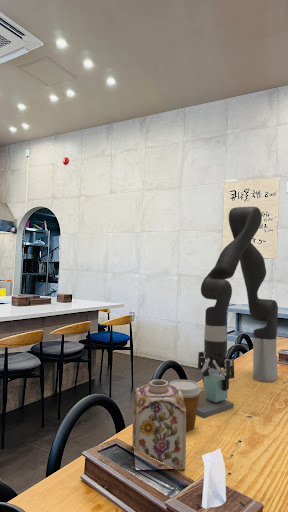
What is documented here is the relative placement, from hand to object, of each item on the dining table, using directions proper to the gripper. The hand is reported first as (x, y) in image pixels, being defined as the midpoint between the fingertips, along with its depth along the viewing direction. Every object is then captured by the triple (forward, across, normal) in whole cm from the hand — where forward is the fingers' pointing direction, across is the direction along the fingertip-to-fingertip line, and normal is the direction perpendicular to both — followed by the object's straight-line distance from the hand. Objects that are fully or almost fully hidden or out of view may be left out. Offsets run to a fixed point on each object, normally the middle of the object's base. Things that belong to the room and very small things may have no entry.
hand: (215, 386), depth 115 cm
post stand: (+6, 0, +4) cm, 7 cm away
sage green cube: (+4, 0, 0) cm, 4 cm away
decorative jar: (+6, -15, +36) cm, 39 cm away
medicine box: (+6, +12, -12) cm, 18 cm away
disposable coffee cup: (+6, -6, +20) cm, 21 cm away
